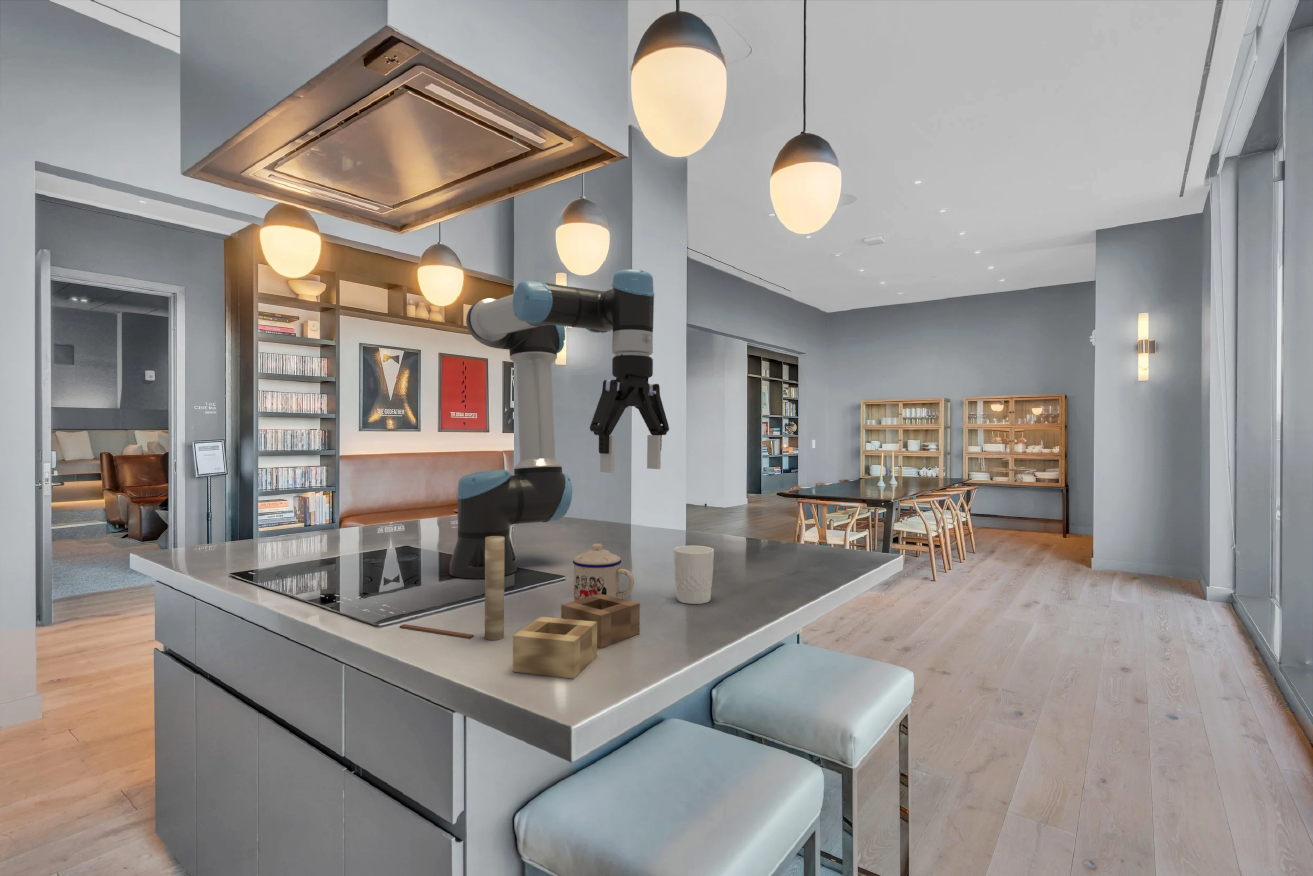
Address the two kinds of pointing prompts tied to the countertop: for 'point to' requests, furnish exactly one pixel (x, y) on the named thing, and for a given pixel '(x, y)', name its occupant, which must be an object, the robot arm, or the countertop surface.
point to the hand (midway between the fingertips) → (631, 470)
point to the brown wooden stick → (437, 631)
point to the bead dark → (606, 617)
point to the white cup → (693, 573)
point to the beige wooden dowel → (494, 587)
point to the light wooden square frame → (555, 647)
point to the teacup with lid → (599, 574)
